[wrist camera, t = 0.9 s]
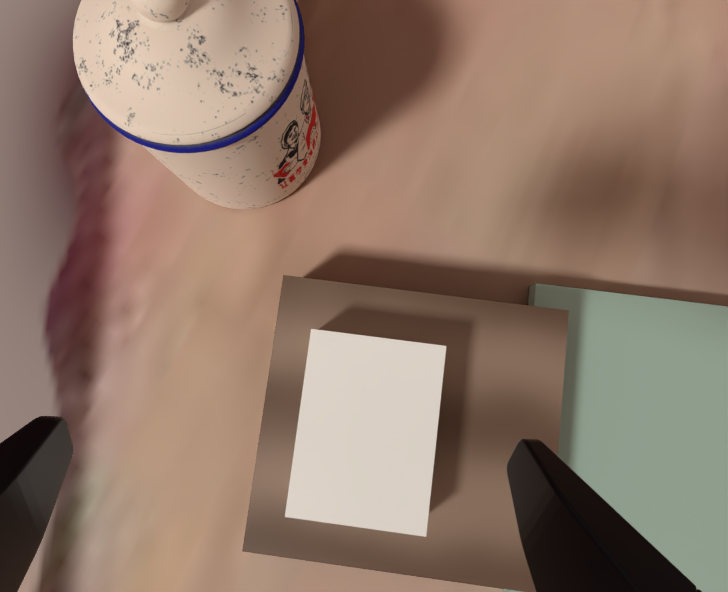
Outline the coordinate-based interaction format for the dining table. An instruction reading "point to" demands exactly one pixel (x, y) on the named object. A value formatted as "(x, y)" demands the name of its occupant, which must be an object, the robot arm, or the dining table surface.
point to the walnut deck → (454, 435)
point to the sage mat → (650, 418)
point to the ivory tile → (367, 432)
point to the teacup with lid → (206, 90)
